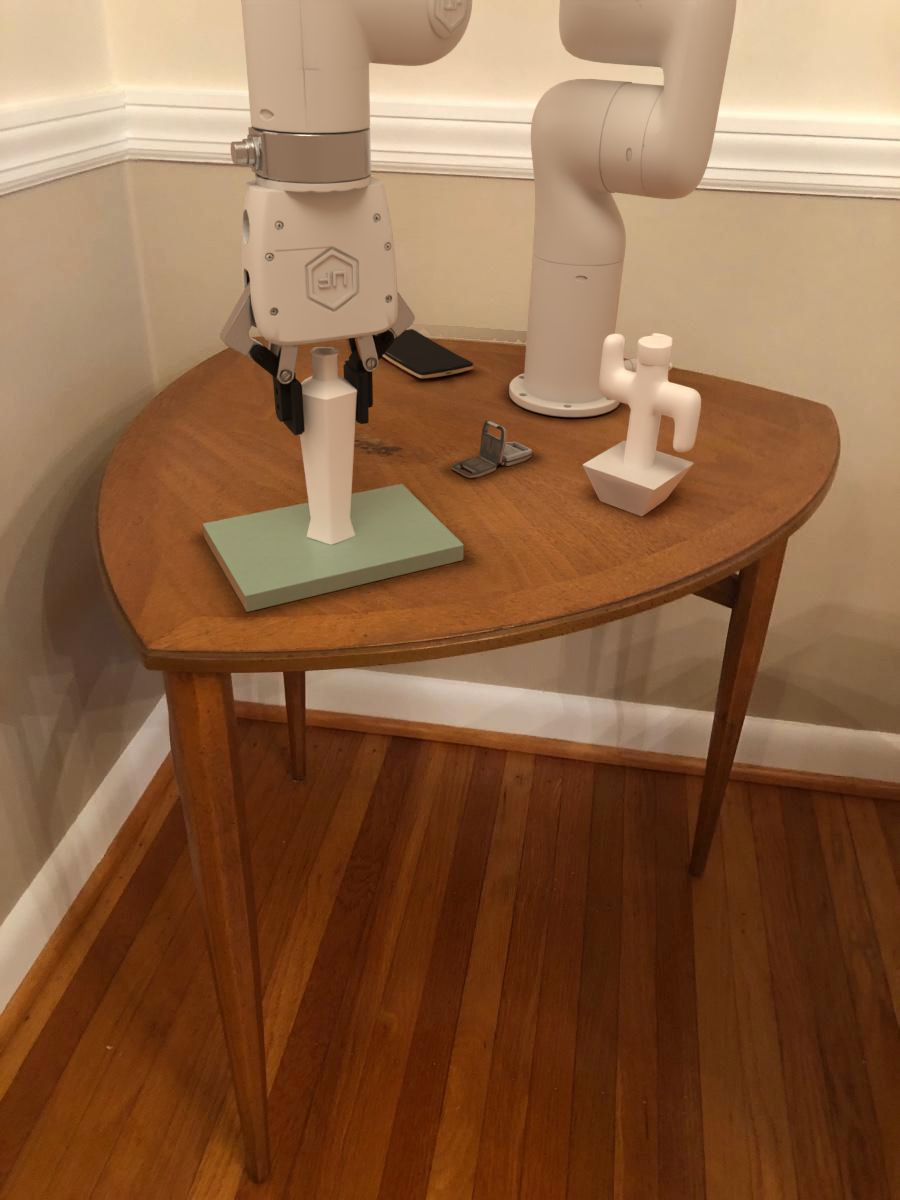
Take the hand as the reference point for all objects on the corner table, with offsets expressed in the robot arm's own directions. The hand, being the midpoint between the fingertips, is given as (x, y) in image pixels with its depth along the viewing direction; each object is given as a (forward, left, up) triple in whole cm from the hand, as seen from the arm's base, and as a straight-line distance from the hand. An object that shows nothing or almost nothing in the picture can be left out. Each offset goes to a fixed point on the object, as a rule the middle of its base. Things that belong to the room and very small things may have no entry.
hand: (325, 420), depth 71 cm
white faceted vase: (0, 0, -10) cm, 10 cm away
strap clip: (-20, -9, -11) cm, 25 cm away
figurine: (-28, +3, -11) cm, 30 cm away
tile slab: (0, 0, -11) cm, 11 cm away
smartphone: (-26, -39, -11) cm, 48 cm away
